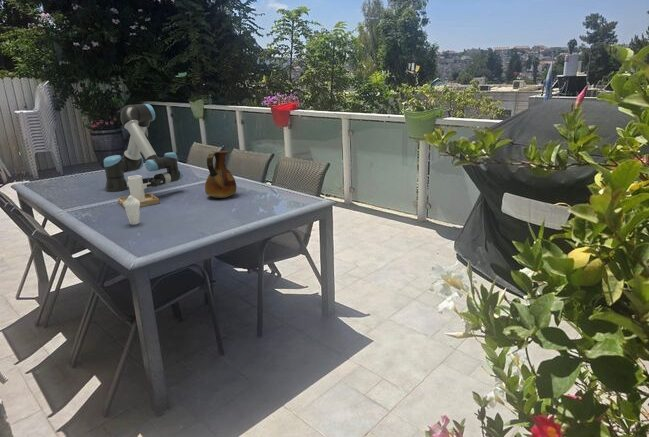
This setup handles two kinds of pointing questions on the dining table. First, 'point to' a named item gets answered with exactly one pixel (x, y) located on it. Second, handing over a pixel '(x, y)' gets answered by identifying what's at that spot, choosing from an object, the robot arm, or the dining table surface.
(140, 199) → the cup
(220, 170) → the ceramic pitcher
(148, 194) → the tray
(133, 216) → the soft serve ice cream cone
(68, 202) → the dining table surface
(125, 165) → the robot arm
